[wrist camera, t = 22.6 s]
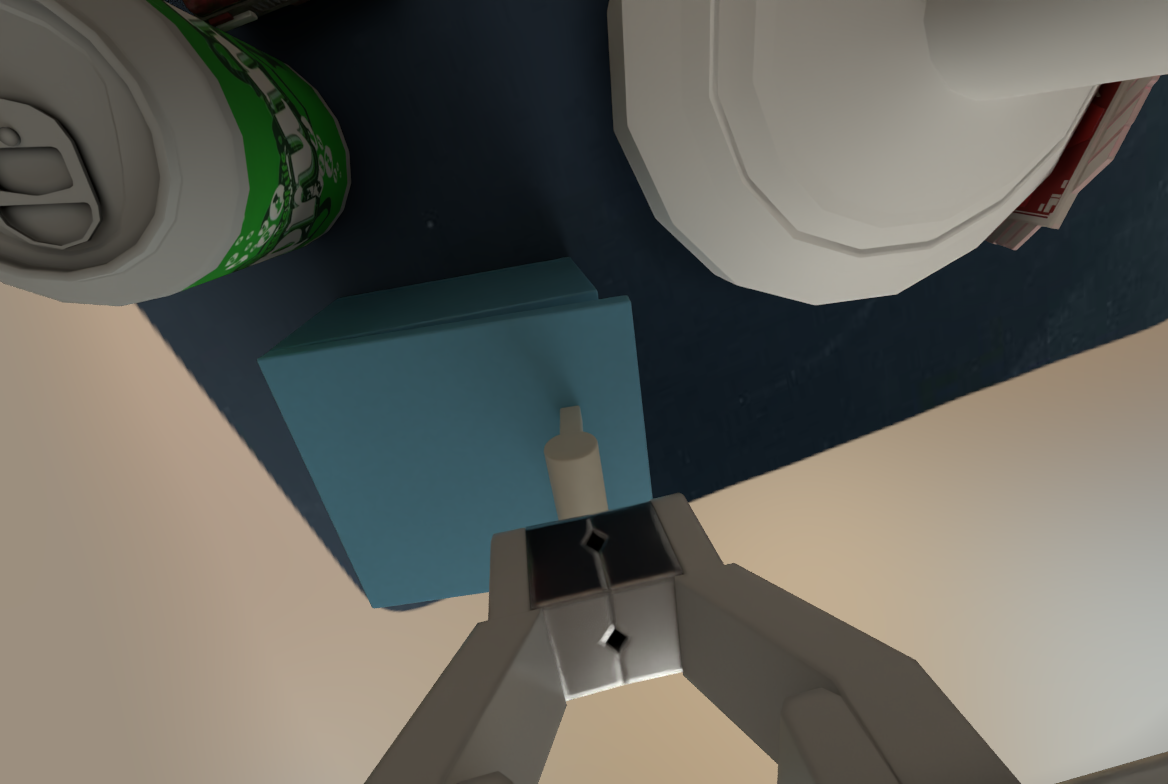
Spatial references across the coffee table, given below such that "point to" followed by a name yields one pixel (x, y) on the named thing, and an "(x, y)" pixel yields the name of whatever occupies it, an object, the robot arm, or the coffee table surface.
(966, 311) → the coffee table surface
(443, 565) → the lid
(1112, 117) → the decorative emblem
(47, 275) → the soda can
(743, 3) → the candle holder
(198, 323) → the coffee table surface
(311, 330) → the box
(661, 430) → the coffee table surface
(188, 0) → the toy vehicle
